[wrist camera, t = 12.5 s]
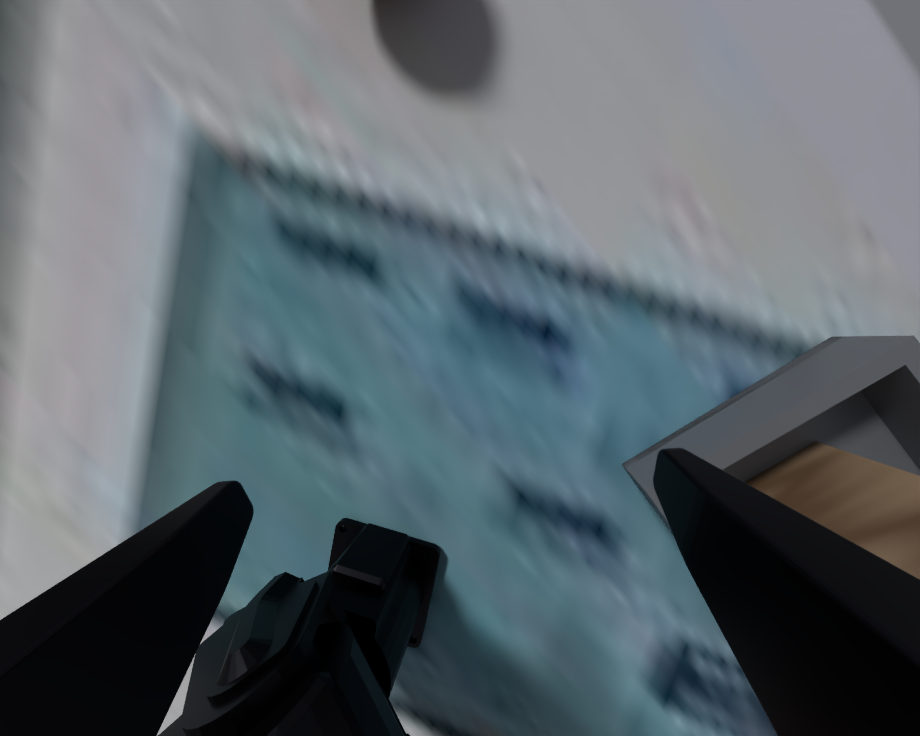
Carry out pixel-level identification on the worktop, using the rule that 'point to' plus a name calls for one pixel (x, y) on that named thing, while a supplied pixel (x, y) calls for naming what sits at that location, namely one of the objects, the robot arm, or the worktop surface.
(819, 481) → the handle block
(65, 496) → the worktop surface
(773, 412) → the box
